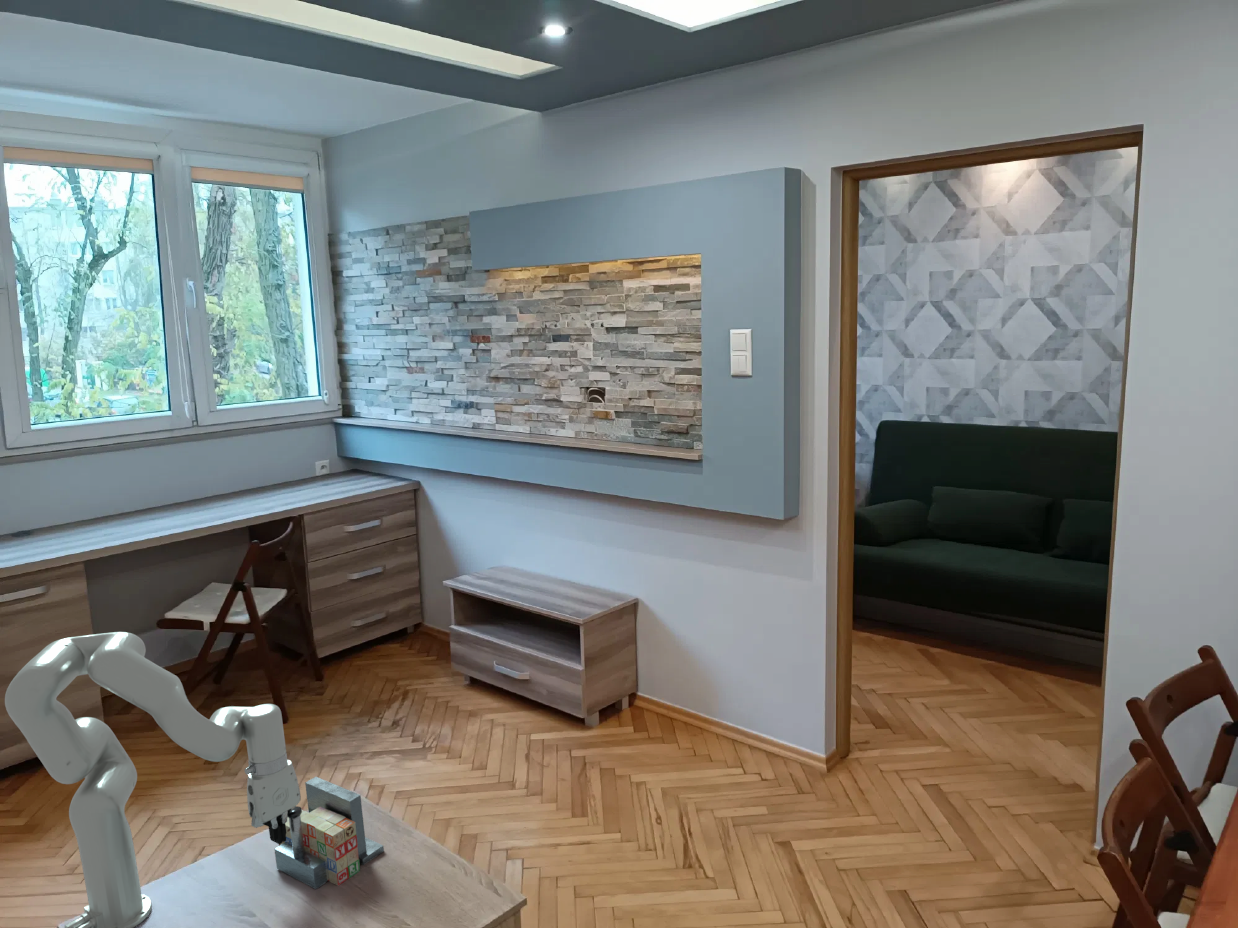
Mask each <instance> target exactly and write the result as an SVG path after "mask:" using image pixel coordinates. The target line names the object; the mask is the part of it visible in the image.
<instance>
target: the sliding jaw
mask: <svg viewBox="0 0 1238 928" xmlns="http://www.w3.org/2000/svg"><path fill="white" fill-rule="evenodd" d="M302 810H303V809H302V807H301V806H298V805H297V806H295V807H294V808H293V809H291V811H290V813H289V815H288V818H289V824H290V832H291V840H292V844H291V843H289V842H285V843H283V844H282V845H280V846H279V845H278V846H277V847H275V848H274V856H275V864H276V869H277V870H279V871H281V872H283V873H285V874H286V875H288V876H290V877H292V878H294V879H295V880H298V881H299V882H302V883H303V884H305V885H306V886H309V887H310V888H313V889H315V890H317V889H319V888H320V887H322V886H323V885H325V884H326V883H328V880H329V875H328V866H327V861H326V860H324V859H322V858H319V857H317V856H315V855H313V854H311V853H309V852H307V851H305V849H304V841H303V833H302V825H301V817H300V815H301V813H302Z"/></svg>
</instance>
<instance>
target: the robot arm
mask: <svg viewBox="0 0 1238 928" xmlns="http://www.w3.org/2000/svg"><path fill="white" fill-rule="evenodd" d="M146 652H147V650H146V645H145V643H144V640H142V638H141V637H139V636H138V635H136V634H134V633H133V632H132V633H131V632H126V631H114V632H104V633H96V634H88V635H77V636H71V637H65V638H61V639H57V640H55V641H52V642H50V643H49V644H47V645H46V646H45V647H44V648H43V649H42V650H40V652H38V653H37V654H36V655H34V656H33V658H31V659H30V660H29V661H28V662H27V663H26V664H25V665H24V666H22V668H21V669H20V670H19V671H18V672H17V673H16V675H15V676H14V677H13V679H12V680H11V682H10V683H9V685H8V687H7V688H6V691H5V695H4V706H5V709H6V712H7V714H8V716H9V717H10V719H11V720H12V721H13V723H14V724H15V726H16V727H17V728H18V729H19V730H20V732H21V734H22V735H23V736H24V738H25V740H26V741H27V743H28V744H29V746H30V747H31V749H32V750H33V752H34V753H35V754H36V756H37V758H38V759H39V760H40V762H41V763H42V765H43V767H44V768H45V769H46V771H47V773H48V774H49V775H50V777H51V778H52V779H54V781H56V782H58V783H60V784H63V785H72V784H75V783H78V782H80V781H82V780H83V779H84V780H83V781H82V783H81V784H80V786H79V787H78V788H77V790H76V791H75V793H74V795H73V796H72V799H71V802H70V804H69V808H68V817H69V821H70V824H71V825H70V826H71V827H72V830H73V832H74V835H75V838H76V843H77V846H78V851H79V857H80V861H81V866H82V873H83V878H84V884H85V891H86V896H87V903H88V905H86V906H84V907H83V911H84V913H82V914H80V917H78V918H77V919H75V920H72V921H70V922H68V923H66V924H65V925H64V928H135V927H137V926H138V925H140V924H141V923H143V921H145V920H146V919H147V918H148V916H149V915H150V913H151V911H152V908H153V906H152V900H151V898H150V897H149V896H148V895H145V894H142V889H141V883H140V876H139V871H138V870H139V869H138V864H137V857H136V852H135V846H134V845H135V844H134V841H133V833H132V829H131V826H130V824H129V821H128V819H127V817H126V813H125V812H126V811H125V808H126V804H127V802H128V800H129V798H130V796H131V795H132V793H133V791H134V790H135V787H136V785H137V781H138V772H137V768H136V767H135V765H134V762H133V761H132V759H131V757H130V756H129V754H128V753H127V752H126V750H125V748H124V747H123V745H122V744H121V743H120V742H121V741H120V740H118V738H117V736H116V735H115V733H114V732H113V730H112V729H111V727H109V725H108V724H107V723H105V722H104V721H102V720H100V719H98V718H97V717H91V716H83V717H78V718H76V719H75V717H74V716H73V714H72V712H71V711H70V710H69V709H68V707H66V705H65V704H63V703H61V702H60V701H59V700H58V699H57V697H58V696H59V695H60V694H61V693H62V692H63V691H64V690H65V689H67V687H68V686H69V685H70V684H71V683H72V682H73V681H74V680H75V679H76V677H78V676H85V675H88V677H89V678H90V679H91V680H92V681H93V682H94V683H95V684H97V685H99V686H100V687H102V688H104V689H105V690H107V691H109V692H111V693H113V694H115V695H116V696H118V697H120V699H121V698H122V699H123V700H125V701H126V702H129V703H130V704H132V705H134V706H135V707H137V708H139V709H141V710H143V711H144V712H146V713H148V714H149V715H150V716H152V718H153V719H154V721H155V722H156V724H157V725H158V727H159V728H161V730H162V731H163V732H164V733H165V734H166V735H167V736H168V737H169V738H170V739H171V740H172V741H173V742H174V743H175V744H177V745H178V746H179V747H181V748H183V749H184V750H187V752H190V753H192V754H194V755H195V756H197V757H198V758H199V757H200V758H201V759H203V760H206V761H210V762H216V763H217V762H219V763H220V762H223V761H227V760H229V759H230V758H231V757H233V756H234V755H235V753H236V752H237V751H238V749H239V746H240V743H241V742H242V740H245V742H246V751H247V756H248V761H247V762H248V763H247V764H248V766H247V767H246V768H244V773H245V774H246V775H248V776H247V783H246V800H247V810H248V815H249V817H250V818H251V823H250V824H251V826H252V827H253V828H256V829H257V828H261V827H263V826H265V827H268V833H269V839H270V840H271V841H272V842H273V843H276V844H277V845H279V844H281V843H282V842H285V841H286V826H285V823H286V822H287V817H288V815H289V813H290V811H291V809H293V808H294V807H295V806H298V805H299V804H300V802H301V790H300V785H299V780H298V777H297V774H296V773H297V772H296V770H295V767H294V765H293V762H292V760H290V759H288V755H287V753H288V752H287V748H286V739H285V731H284V724H283V716H282V711H281V709H280V707H279V706H278V705H276V704H273V703H263V704H259V705H255V706H234V705H231V706H230V705H229V706H225V707H220V708H218V709H216V710H215V711H214V712H213V713H212V715H211V716H210V718H209V719H208V718H207V717H205V716H204V715H202V714H201V713H200V712H199V711H197V709H196V708H195V707H194V706H193V705H192V704H191V702H190V701H189V699H188V696H187V695H186V691H185V689H184V686H183V683H182V682H181V679H180V678H179V677H178V676H177V675H175V674H174V673H172V672H170V670H169V671H168V670H166V668H163V667H162V666H159V665H158V664H156V663H154V662H153V661H151V660H150V659H148V658H146Z"/></svg>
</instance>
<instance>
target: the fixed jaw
mask: <svg viewBox="0 0 1238 928" xmlns="http://www.w3.org/2000/svg"><path fill="white" fill-rule="evenodd" d="M304 784H305V791H306V800H307V808H308V812H309V813H310V812H312V811H313V810H315V809H317V808H318V807H322V808H325V809H327V810H330V811H332V812H335V813H337V814H340V815H342V816H344V817H346V818H347V819H350V820H352V821H354V822H355V824H356V835H357V844H358V846H357V847H358V857H359V858H358V859H359V864H360V865H361V866H364V865H366V864H367V863H369V862H370V861H372V860H373V859H375V858H377V857H378V856H379V855H380V854H383V853H384V852H385V849H384V847H385V846H384V845H383V844H381V843H379V842H377V841H375V840H373V839H370V838H368V837H366V835H365V834H366V833H365V824H364V823H365V822H364V816H363V815H364V814H363V807H362V806H363V805H362V798H361V794H359V793H356V792H354V791H352V790H349V789H346V788H345V787H342V786H340V785H337V784H335V783H332V782H330V781H328V780H326V779H322V778H321V777H318V776H314V777H313V778H311V779H309V780H307V781H306V782H304Z"/></svg>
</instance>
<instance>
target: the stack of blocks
mask: <svg viewBox="0 0 1238 928" xmlns="http://www.w3.org/2000/svg"><path fill="white" fill-rule="evenodd" d="M300 817H301V825H302V833H303V841H304V849H305V851H307V852H309V853H311V854H313V855H315V856H317V857H319V858H322V859H324V860H326V861H327V866H328V875H329V880H327V882H330V883H332V884H334V885H336V886H340V885H341V884H343V883H345V882H346V881H347V880H348V879H350V878H351V877H353V876H355V875H356V874H357V873H359V872H360V871H361V866H360V865H361V864H359V859H358V858H359V857H358V847H357V846H358V844H357V835H356V824H355V822H354V821H352V820H350V819H347V818H346V817H344V816H342V815H340V814H337V813H335V812H332V811H330V810H327V809H325V808H322V807H318V808H317V809H315V810H313V811H312V812H310V813H309V811H306V810H303V809H302V813H301V815H300ZM285 826H286V841H285V842H289V843H291V844H292V840H291V832H290V824H289V818H288V817H287V822H286V823H285ZM285 842H282V843H281V844H278V846H280V845H282V844H283V843H285Z"/></svg>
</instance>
